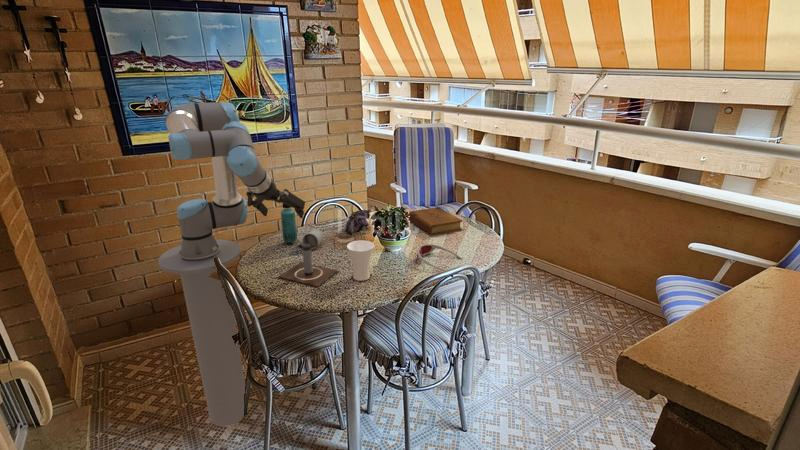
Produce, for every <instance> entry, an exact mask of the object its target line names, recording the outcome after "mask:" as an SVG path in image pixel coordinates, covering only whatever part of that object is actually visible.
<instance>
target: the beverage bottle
mask: <svg viewBox="0 0 800 450" xmlns="http://www.w3.org/2000/svg"><path fill="white" fill-rule="evenodd" d="M280 215H281V216H280V217H281V218H280V219H281V228H282V229H281V230H282V240H283V242H284V243H295V242H297V240H298V233H297V224H296V223H297V222H296V211H295V209H294V208H292V207H290V206H288V205H286V204H283V203H282V210H280Z"/></svg>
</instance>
